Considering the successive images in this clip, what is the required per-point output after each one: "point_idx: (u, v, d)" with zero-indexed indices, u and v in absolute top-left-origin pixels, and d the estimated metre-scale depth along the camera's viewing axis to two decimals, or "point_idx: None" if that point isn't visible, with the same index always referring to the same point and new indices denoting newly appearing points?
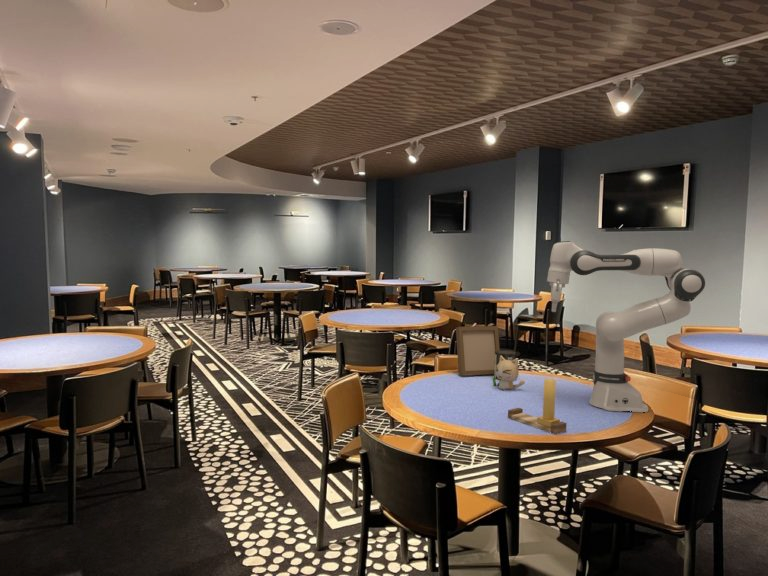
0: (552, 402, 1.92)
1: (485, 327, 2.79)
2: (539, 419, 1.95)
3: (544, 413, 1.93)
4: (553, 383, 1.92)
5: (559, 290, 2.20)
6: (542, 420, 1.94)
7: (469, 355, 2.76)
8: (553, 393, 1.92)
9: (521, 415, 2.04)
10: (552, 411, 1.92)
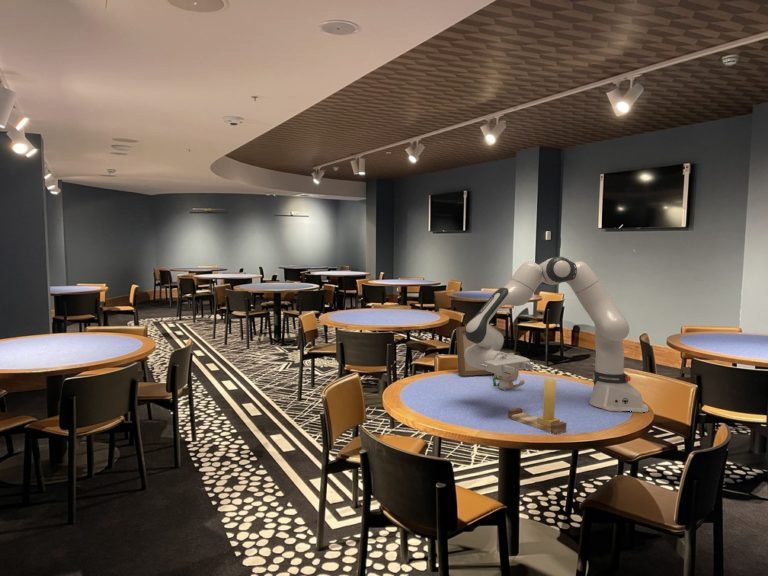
0: (552, 402, 1.92)
1: None
2: (539, 419, 1.95)
3: (544, 413, 1.93)
4: (553, 383, 1.92)
5: (487, 364, 2.06)
6: (542, 420, 1.94)
7: None
8: (553, 393, 1.92)
9: (521, 415, 2.04)
10: (552, 411, 1.92)
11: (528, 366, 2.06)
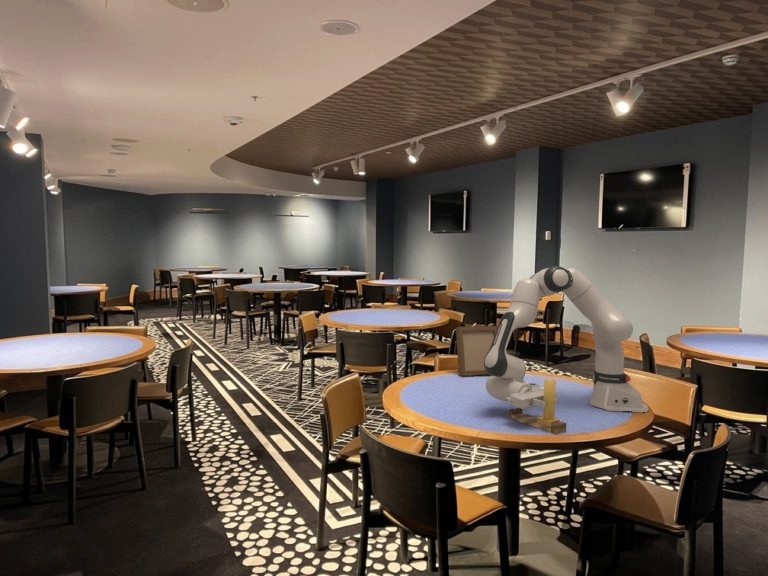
0: (552, 402, 1.92)
1: (485, 327, 2.79)
2: (539, 419, 1.95)
3: (544, 413, 1.93)
4: (553, 383, 1.92)
5: (512, 398, 1.96)
6: (542, 420, 1.94)
7: (469, 355, 2.76)
8: (553, 393, 1.92)
9: (521, 415, 2.04)
10: (552, 411, 1.92)
11: None
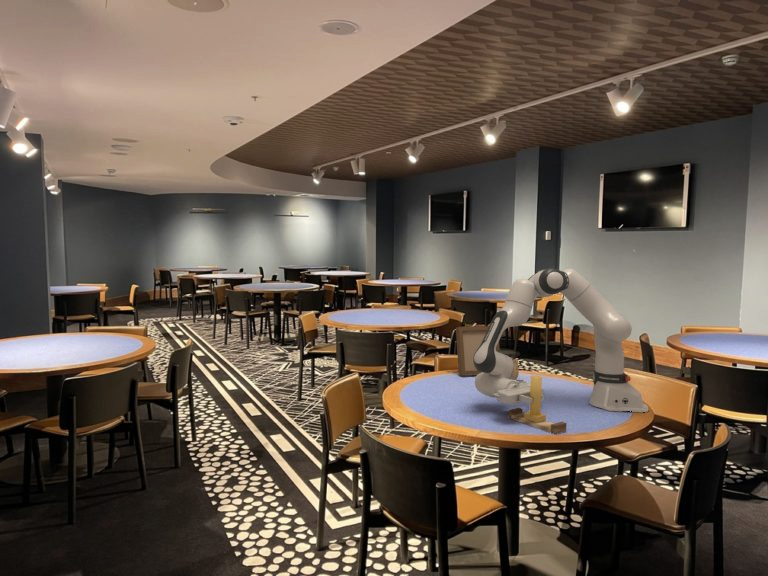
0: (538, 398, 1.97)
1: (485, 327, 2.79)
2: (526, 415, 2.00)
3: (530, 409, 1.99)
4: (539, 379, 1.97)
5: (499, 394, 2.01)
6: (529, 416, 1.99)
7: (469, 355, 2.76)
8: (539, 389, 1.97)
9: (521, 415, 2.04)
10: (538, 407, 1.97)
11: None
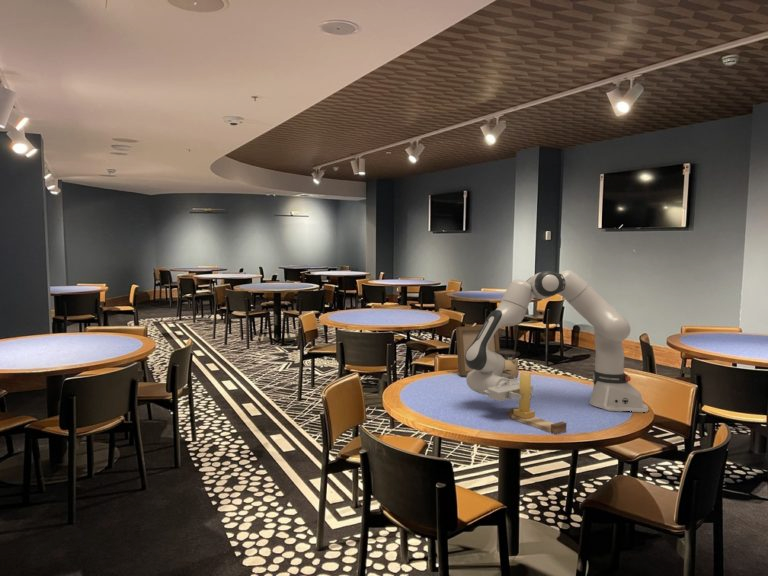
0: (527, 395, 2.01)
1: None
2: (515, 411, 2.04)
3: (520, 405, 2.03)
4: (528, 377, 2.01)
5: (489, 391, 2.05)
6: (518, 412, 2.03)
7: None
8: (528, 386, 2.01)
9: None
10: (527, 403, 2.02)
11: None
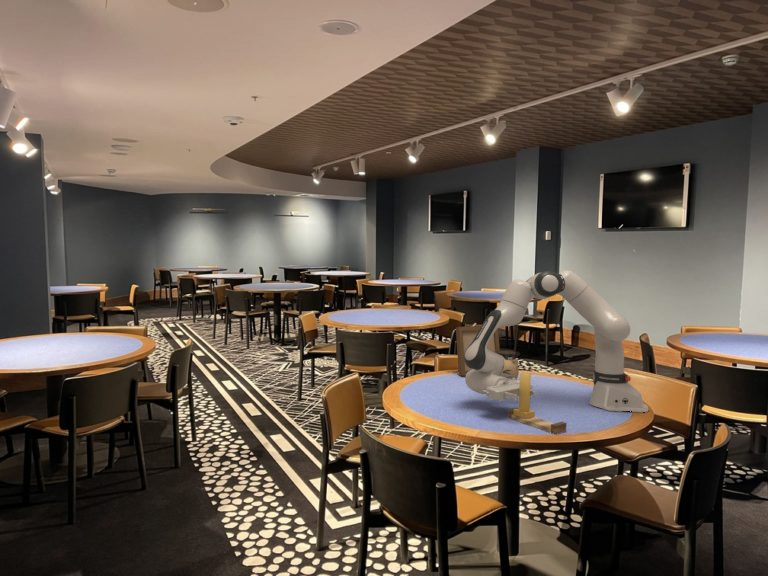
0: (527, 395, 2.01)
1: None
2: (515, 411, 2.04)
3: (520, 405, 2.03)
4: (528, 377, 2.01)
5: (488, 390, 2.05)
6: (518, 412, 2.03)
7: None
8: (528, 386, 2.01)
9: None
10: (527, 403, 2.02)
11: (530, 392, 2.06)
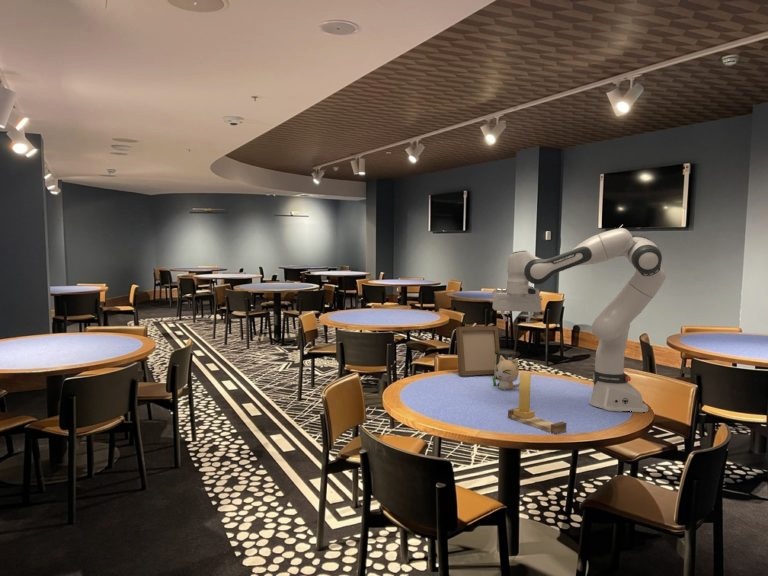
0: (527, 395, 2.01)
1: (485, 327, 2.79)
2: (515, 411, 2.04)
3: (520, 405, 2.03)
4: (528, 377, 2.01)
5: (493, 298, 2.29)
6: (518, 412, 2.03)
7: (469, 355, 2.76)
8: (528, 386, 2.01)
9: None
10: (527, 403, 2.02)
11: (526, 320, 2.26)
